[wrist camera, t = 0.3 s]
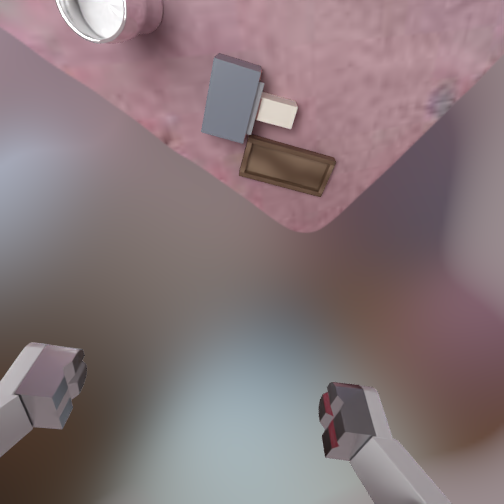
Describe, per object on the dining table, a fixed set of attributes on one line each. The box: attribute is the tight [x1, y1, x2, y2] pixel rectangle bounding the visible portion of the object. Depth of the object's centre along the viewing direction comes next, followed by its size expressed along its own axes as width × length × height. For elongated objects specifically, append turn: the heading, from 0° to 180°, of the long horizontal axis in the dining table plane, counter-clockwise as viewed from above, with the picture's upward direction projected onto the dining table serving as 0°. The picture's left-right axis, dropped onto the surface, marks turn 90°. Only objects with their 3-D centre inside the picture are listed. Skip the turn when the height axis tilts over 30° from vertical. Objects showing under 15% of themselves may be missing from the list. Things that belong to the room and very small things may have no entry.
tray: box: [239, 134, 336, 197], centre depth 53 cm, size 6×14×2 cm, turn 75°
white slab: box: [255, 92, 298, 129], centre depth 46 cm, size 3×11×5 cm, turn 76°
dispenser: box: [201, 53, 264, 144], centre depth 45 cm, size 9×7×6 cm
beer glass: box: [55, 0, 163, 44], centre depth 35 cm, size 7×7×15 cm
